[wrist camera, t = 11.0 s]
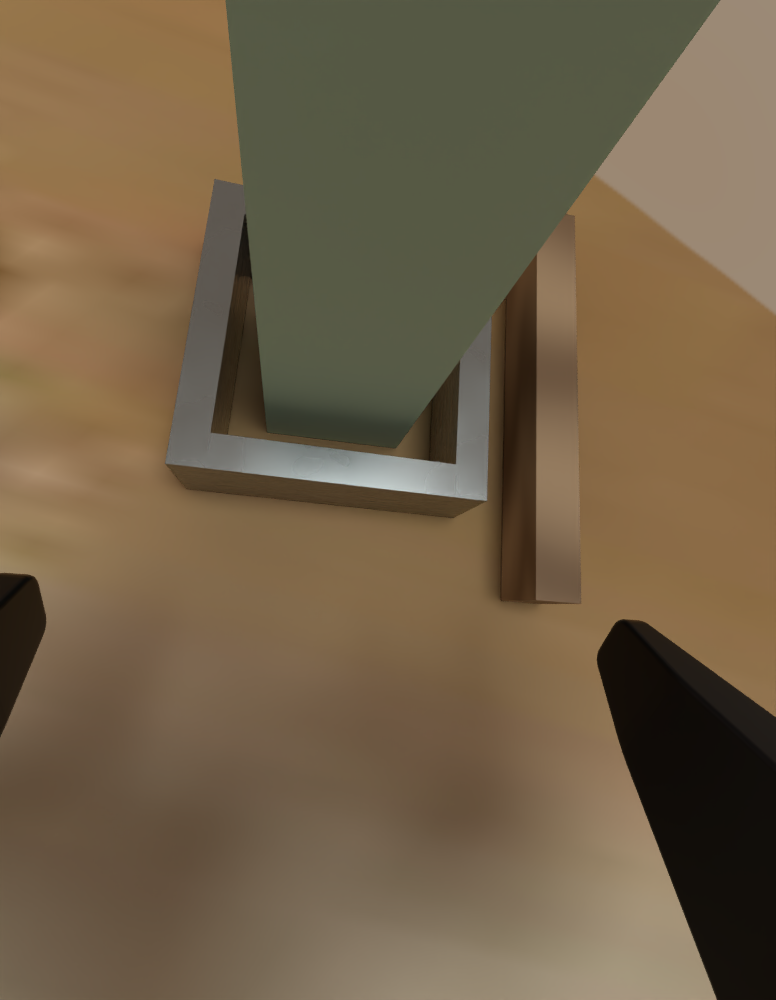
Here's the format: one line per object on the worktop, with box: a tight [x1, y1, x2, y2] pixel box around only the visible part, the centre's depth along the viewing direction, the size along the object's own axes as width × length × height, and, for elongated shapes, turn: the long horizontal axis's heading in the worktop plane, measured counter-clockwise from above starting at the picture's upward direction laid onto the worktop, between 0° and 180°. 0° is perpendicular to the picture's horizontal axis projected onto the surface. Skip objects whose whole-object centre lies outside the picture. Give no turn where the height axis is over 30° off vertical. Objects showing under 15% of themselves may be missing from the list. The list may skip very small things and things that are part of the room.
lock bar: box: [226, 0, 720, 448], centre depth 11 cm, size 4×4×14 cm
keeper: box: [165, 179, 492, 518], centre depth 16 cm, size 9×9×3 cm
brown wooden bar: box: [501, 214, 581, 604], centre depth 18 cm, size 14×2×2 cm, turn 176°
